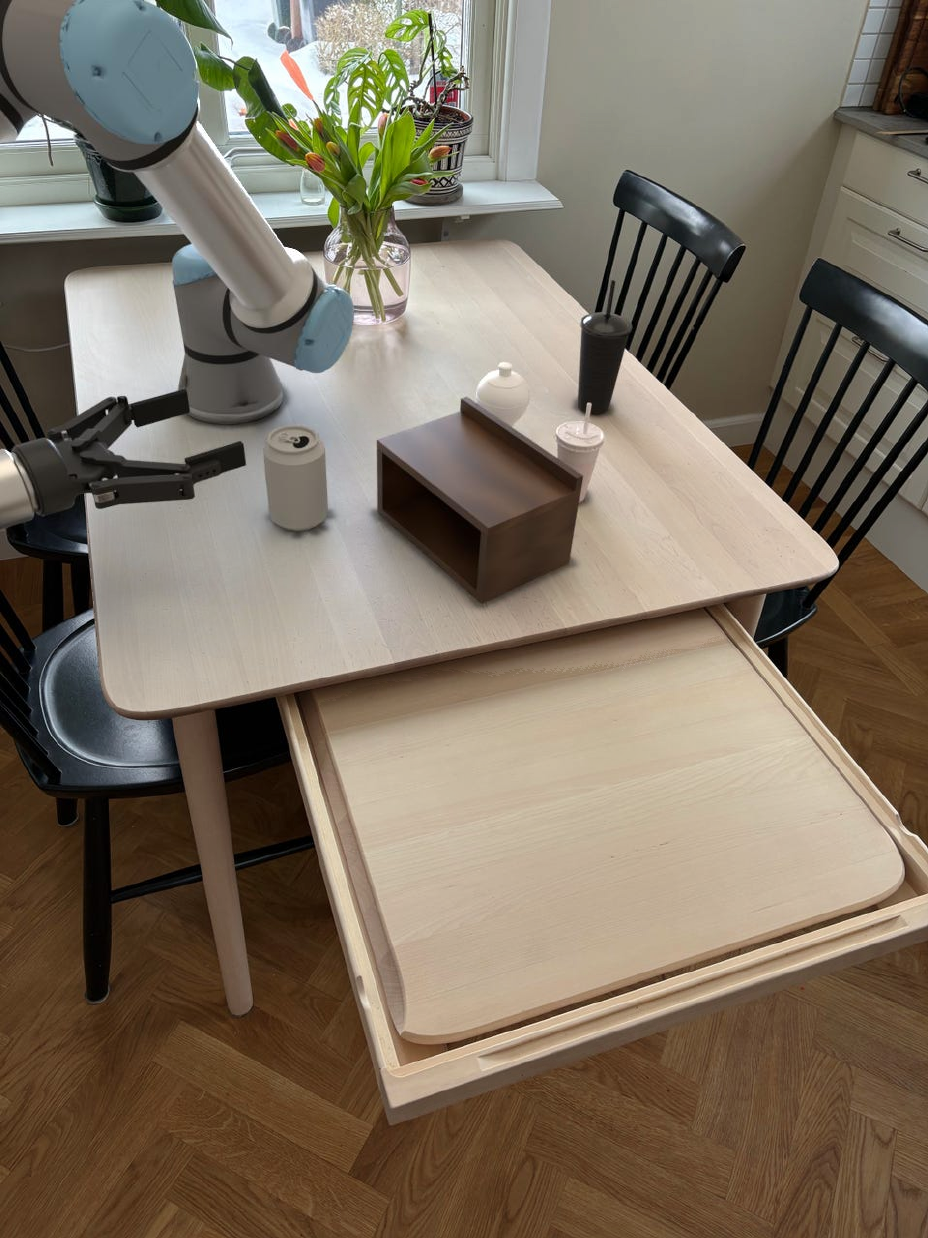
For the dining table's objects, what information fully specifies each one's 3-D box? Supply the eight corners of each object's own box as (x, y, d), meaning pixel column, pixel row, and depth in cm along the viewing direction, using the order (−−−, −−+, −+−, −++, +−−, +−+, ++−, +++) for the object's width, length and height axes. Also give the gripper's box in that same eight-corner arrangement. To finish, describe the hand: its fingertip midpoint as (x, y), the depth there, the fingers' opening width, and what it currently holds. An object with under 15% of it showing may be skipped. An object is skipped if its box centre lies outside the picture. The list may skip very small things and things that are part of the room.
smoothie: (592, 511, 128) (608, 419, 119) (545, 504, 129) (557, 412, 120) (596, 485, 133) (611, 394, 124) (550, 479, 134) (562, 387, 124)
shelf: (461, 479, 132) (466, 396, 124) (569, 562, 120) (583, 475, 111) (377, 512, 125) (376, 426, 117) (482, 603, 113) (489, 514, 104)
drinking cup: (583, 423, 145) (603, 294, 132) (559, 399, 151) (576, 273, 137) (626, 414, 148) (650, 288, 135) (601, 391, 153) (622, 267, 140)
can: (317, 538, 121) (312, 456, 113) (261, 529, 122) (252, 447, 114) (335, 505, 126) (332, 425, 118) (281, 496, 127) (274, 416, 119)
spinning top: (520, 457, 137) (528, 381, 129) (468, 449, 138) (473, 373, 130) (528, 431, 143) (537, 356, 135) (478, 423, 144) (483, 348, 136)
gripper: (-8, 459, 107) (170, 408, 118) (77, 575, 93) (272, 506, 104) (-27, 398, 102) (161, 351, 113) (60, 512, 88) (266, 446, 99)
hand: (214, 425), depth 108 cm, fingers open, 13 cm apart
